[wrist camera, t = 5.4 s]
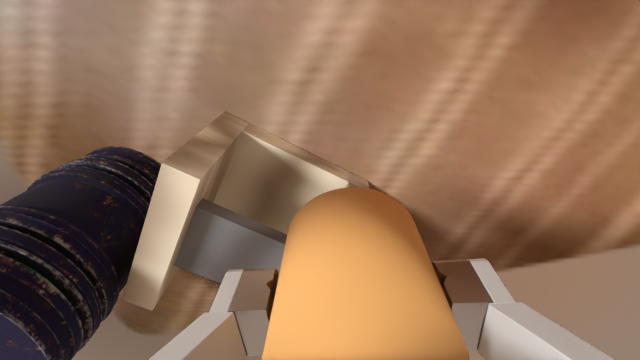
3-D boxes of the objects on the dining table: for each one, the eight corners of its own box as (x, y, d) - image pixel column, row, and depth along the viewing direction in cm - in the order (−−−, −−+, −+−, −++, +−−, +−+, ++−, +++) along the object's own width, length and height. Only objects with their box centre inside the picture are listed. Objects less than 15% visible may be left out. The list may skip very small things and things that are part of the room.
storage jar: (53, 186, 28) (-198, 332, 15) (115, 121, 25) (-131, 233, 12) (142, 254, 32) (1, 424, 18) (206, 205, 28) (93, 365, 15)
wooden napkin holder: (367, 181, 27) (384, 260, 18) (311, 266, 31) (302, 364, 22) (225, 111, 24) (161, 162, 15) (187, 214, 29) (121, 299, 20)
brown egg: (422, 183, 10) (485, 295, 6) (413, 289, 12) (456, 425, 8) (278, 191, 10) (244, 302, 6) (294, 293, 12) (277, 426, 8)
